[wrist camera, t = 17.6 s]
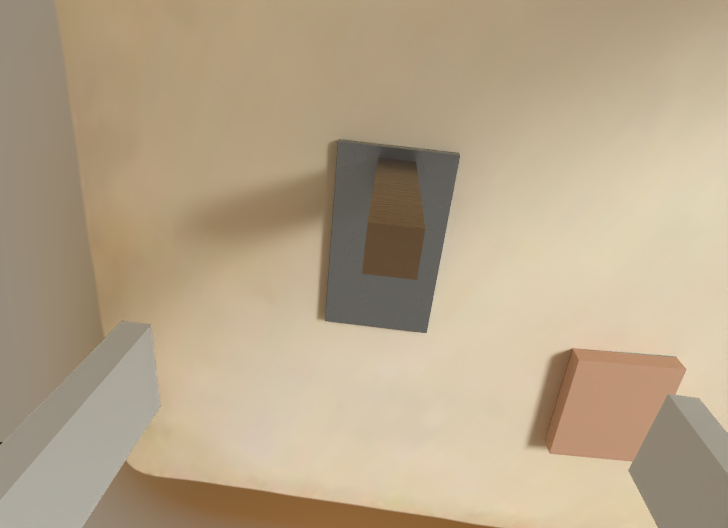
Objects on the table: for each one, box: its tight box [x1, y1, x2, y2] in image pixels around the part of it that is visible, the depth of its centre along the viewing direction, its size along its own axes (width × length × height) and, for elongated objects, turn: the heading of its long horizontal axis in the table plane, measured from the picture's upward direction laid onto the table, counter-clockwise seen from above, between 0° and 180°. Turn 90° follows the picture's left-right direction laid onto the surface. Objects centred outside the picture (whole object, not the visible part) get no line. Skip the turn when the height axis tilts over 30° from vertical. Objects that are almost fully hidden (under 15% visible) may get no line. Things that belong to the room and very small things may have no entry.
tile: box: [545, 348, 686, 461], centre depth 39 cm, size 2×8×10 cm
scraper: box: [325, 139, 460, 333], centre depth 29 cm, size 14×8×13 cm, turn 174°
